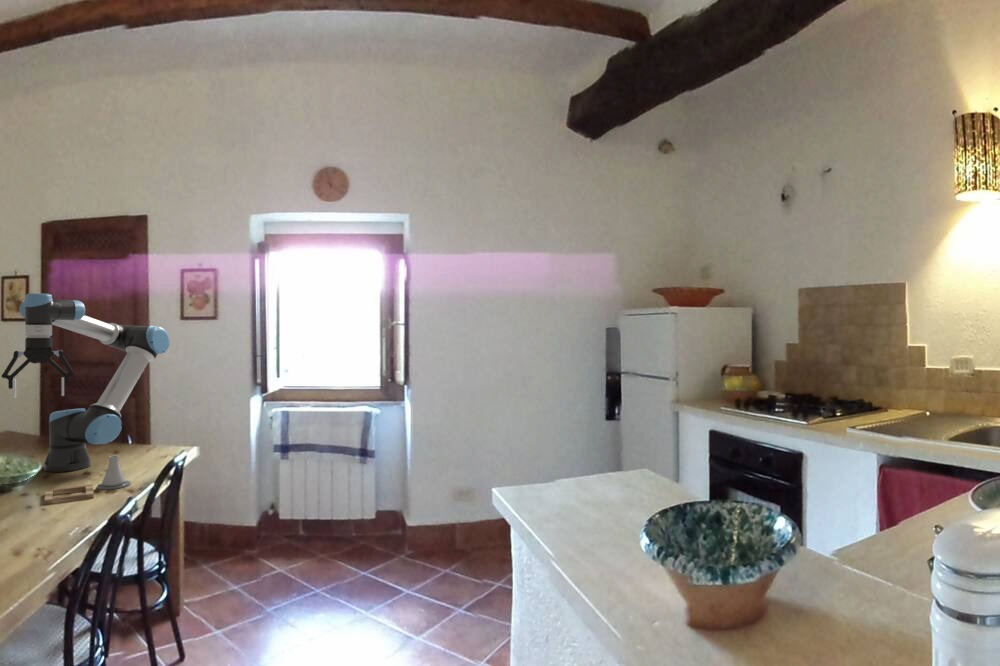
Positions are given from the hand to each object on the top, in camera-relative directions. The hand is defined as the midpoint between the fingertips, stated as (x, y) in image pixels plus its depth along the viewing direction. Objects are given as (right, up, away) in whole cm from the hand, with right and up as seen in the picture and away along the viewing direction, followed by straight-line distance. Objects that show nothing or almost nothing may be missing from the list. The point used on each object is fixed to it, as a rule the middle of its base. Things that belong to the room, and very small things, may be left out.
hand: (39, 396), depth 210 cm
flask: (+25, -32, +2) cm, 41 cm away
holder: (+19, -32, -11) cm, 39 cm away
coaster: (+26, -32, +2) cm, 41 cm away
